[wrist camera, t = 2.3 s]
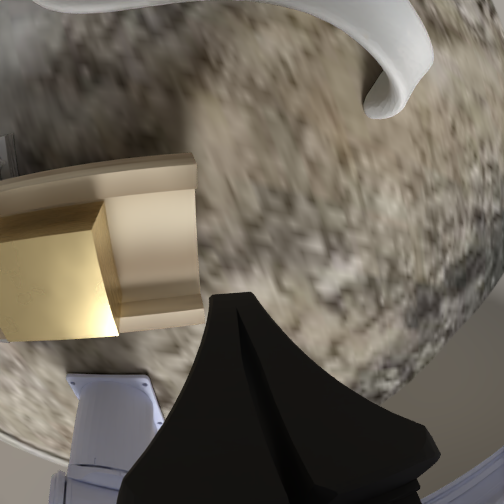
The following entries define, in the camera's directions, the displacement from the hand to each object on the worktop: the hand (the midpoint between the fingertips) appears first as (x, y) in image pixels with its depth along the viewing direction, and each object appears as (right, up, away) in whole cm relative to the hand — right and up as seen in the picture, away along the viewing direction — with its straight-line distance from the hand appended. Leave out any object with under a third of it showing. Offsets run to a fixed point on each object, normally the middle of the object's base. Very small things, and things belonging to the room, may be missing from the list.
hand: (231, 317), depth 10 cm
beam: (-16, +2, +2) cm, 16 cm away
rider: (-9, +2, +3) cm, 9 cm away
